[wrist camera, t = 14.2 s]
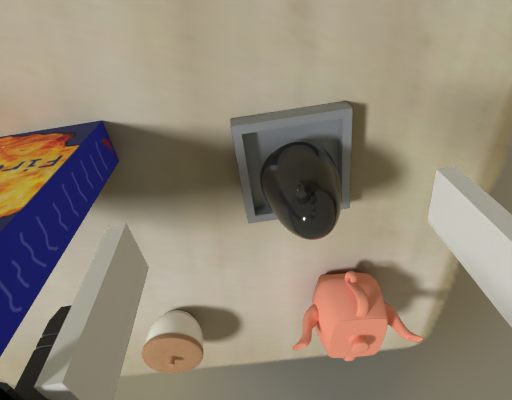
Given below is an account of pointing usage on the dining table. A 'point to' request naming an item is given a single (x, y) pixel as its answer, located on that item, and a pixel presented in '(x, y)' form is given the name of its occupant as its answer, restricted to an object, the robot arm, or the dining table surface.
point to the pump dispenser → (302, 188)
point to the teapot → (350, 316)
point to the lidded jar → (174, 343)
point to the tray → (283, 131)
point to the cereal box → (44, 207)
